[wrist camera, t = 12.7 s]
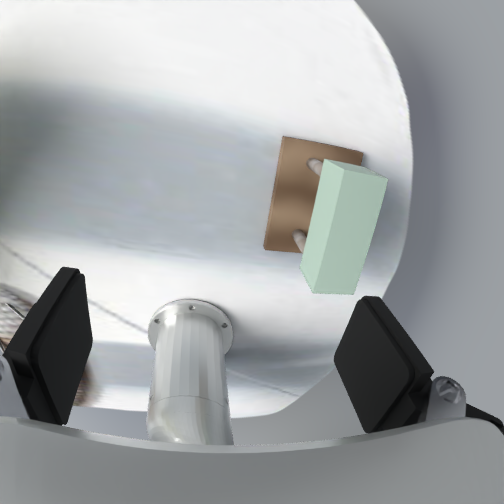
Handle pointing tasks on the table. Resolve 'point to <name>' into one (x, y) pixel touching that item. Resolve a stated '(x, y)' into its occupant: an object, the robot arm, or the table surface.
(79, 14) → the table surface
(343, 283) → the mint green rectangular block
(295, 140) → the peg stand
